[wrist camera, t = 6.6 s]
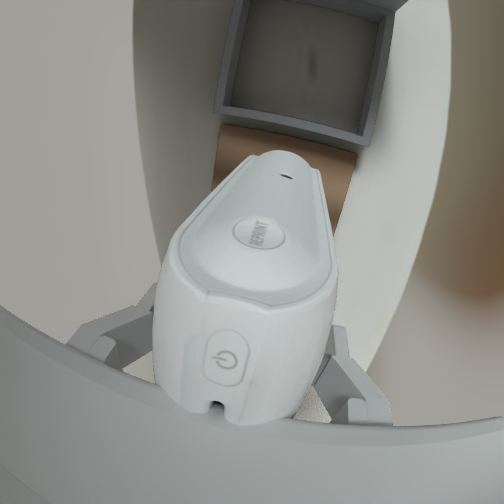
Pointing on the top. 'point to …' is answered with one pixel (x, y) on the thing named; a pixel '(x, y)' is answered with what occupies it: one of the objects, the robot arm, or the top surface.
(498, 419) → the robot arm
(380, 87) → the equipment case
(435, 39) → the top surface
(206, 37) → the top surface
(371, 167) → the top surface
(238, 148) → the walnut board
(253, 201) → the photo printer
